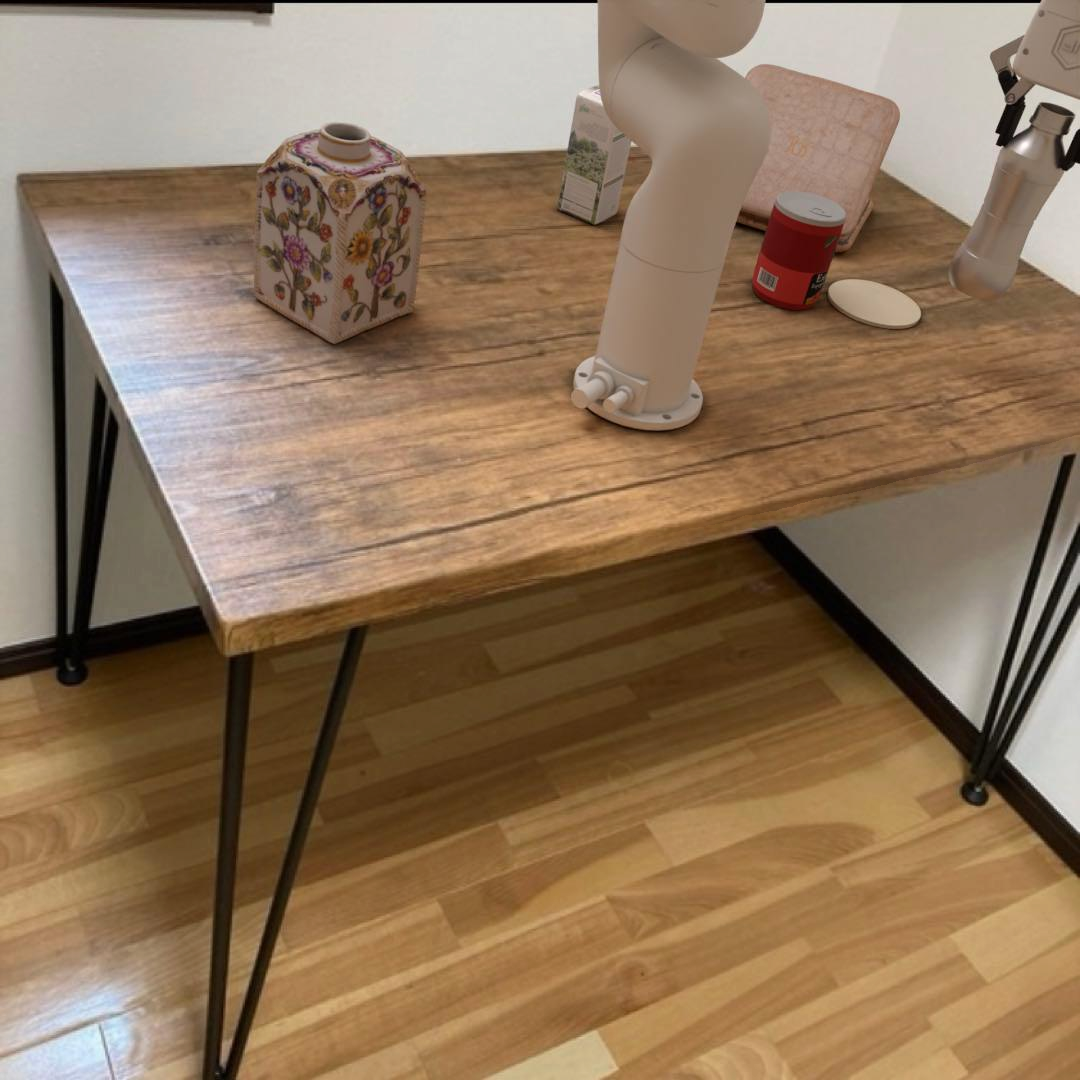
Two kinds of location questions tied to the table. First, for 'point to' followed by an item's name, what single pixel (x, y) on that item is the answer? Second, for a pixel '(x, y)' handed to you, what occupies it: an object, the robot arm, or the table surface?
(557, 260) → the table surface
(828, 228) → the canned food
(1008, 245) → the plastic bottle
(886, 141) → the case
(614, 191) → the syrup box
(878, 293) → the coaster
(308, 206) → the decorative jar
